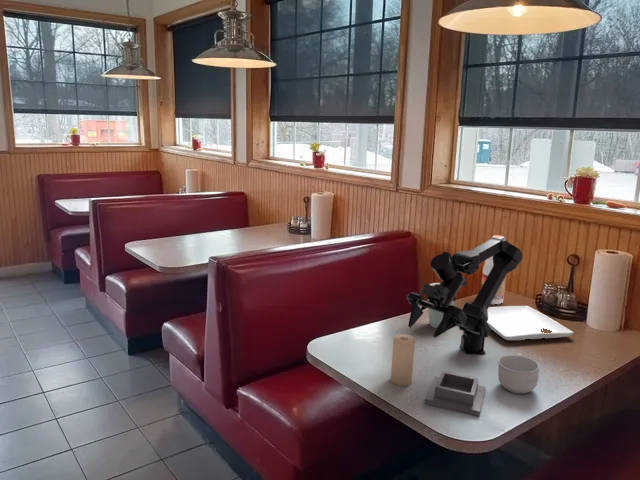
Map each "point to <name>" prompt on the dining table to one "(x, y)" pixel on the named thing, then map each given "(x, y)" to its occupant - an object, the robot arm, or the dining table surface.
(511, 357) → the teacup
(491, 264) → the fruit juice
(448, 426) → the dining table surface
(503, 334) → the square plate
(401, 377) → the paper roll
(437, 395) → the roll caddy
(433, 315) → the disposable coffee cup
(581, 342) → the dining table surface
